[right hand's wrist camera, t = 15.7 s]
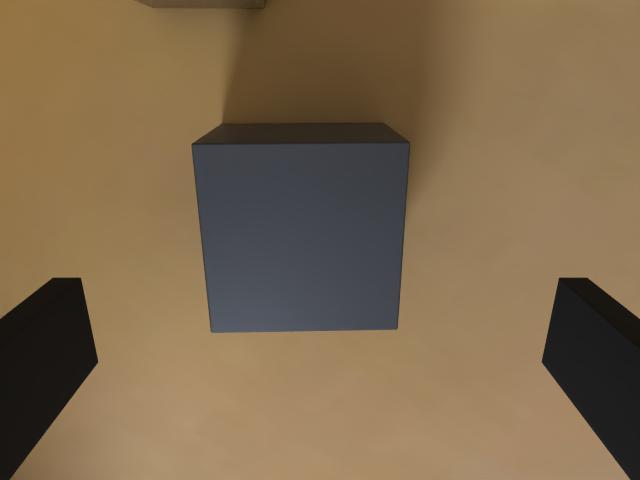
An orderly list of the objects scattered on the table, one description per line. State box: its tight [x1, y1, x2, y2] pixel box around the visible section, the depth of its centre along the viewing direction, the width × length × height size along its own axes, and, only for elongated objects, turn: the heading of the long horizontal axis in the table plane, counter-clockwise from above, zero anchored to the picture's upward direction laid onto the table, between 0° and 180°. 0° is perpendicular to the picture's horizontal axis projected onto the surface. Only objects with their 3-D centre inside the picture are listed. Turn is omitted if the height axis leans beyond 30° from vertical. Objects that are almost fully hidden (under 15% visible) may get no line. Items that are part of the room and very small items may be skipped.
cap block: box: [192, 123, 410, 333], centre depth 21 cm, size 8×8×6 cm
